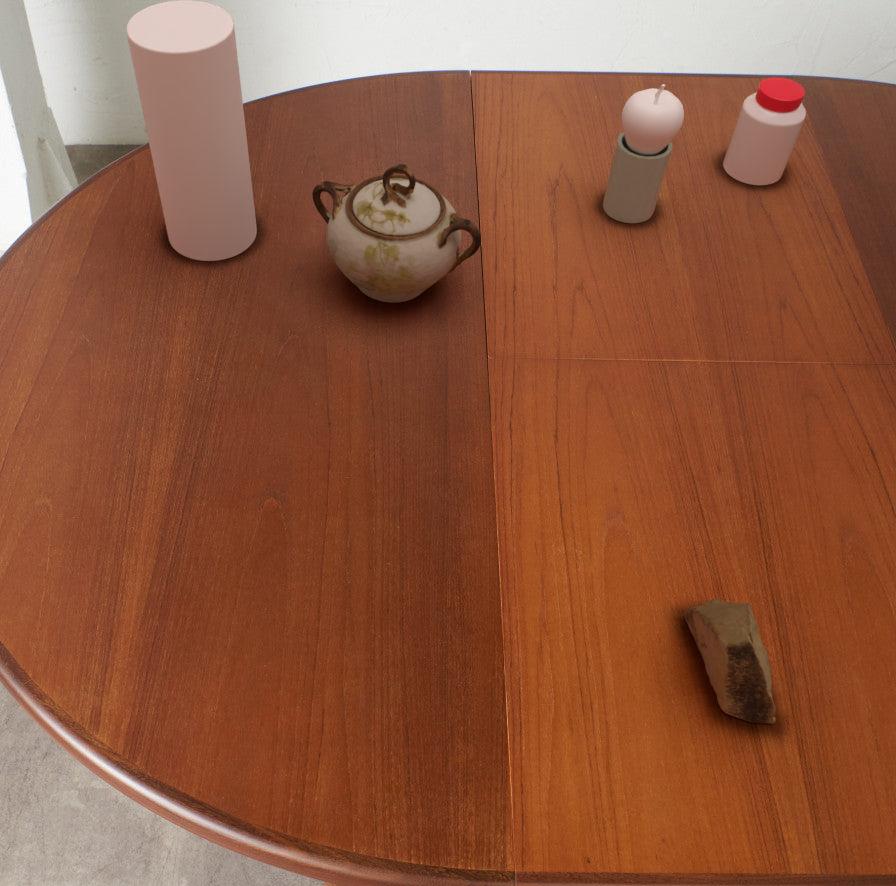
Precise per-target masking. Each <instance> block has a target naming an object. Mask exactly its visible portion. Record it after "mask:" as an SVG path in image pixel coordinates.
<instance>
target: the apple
mask: <svg viewBox="0 0 896 886" xmlns="http://www.w3.org/2000/svg"><path fill="white" fill-rule="evenodd" d="M665 87H666V84H665V83H662V84H661V85H660V87H659V88H653V87H651V88H646V89H643V90H639V91H637V92H635V93H632V95H631V96H629V98H628V99H627V100H626V102H625V104H624V106H623V108H622V111H621V120H620V121H621V127H622V131H623V132H624V135H625V139H626V142H627V145H628V146H629V148H630V149H631V150H633V151H634V152H636V153H638V154H641V155H654V154H657V153H658V152H660V151H661V150H662V149H664V148H665V147H666V146H667V145H668V143H669V142H670V141H671V142H672V140H673V139H674V138H675V137H676V136H677V134H678V133H679V132H680V130H681V128H682V126H683V124H684V119H685V111H684V105H683V103H682V102H681V100H680V99H679V98H678V97H677V96H676V95H675V94H674V93H672V92H671V91H669V90H667V89H665Z"/></svg>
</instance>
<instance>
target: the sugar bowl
mask: <svg viewBox="0 0 896 886" xmlns="http://www.w3.org/2000/svg"><path fill="white" fill-rule="evenodd" d="M323 192H326V193H328V194H329V195H330V196H331V199H332V201H333V202H332V203H333V206H332V212H331V213H330V211H328V209H327V208H326V206H325V204H324V202H323V200H322V199H321V195H322V193H323ZM338 192H341V193H343V194H344V195H343V196H342V197H340V195H339V193H338ZM311 195H312V200H313V204H314V207H315V208H316V210H317V213H319V215H320V216H321V218H322V219H323V220H324V221H325V223H326V224H327V229H326V232H327V233H326V238H327V239H326V240H327V244H328V248H329V249H328V250H329V253H330V255H331V257H332V260H333V261H334V263H335V264H336V266H337V268H338V269H339V270H340V272H341V273H342V274H343V275H344V276H345V278H347V279H348V280H349V281H350V282H351V283H352V284H354V285H355V286H356V287H357V288H358V289H359V291H361V292H362V294H364V295H366V296H367V297H369V298H371V299H373V300H376V301H379V302H382V303H392V304H393V303H395V304H396V303H404V302H407V301H411V300H413V299H416V298H417V297H419V296H420V295H421V294H422V293H423V292H425V291H426V290H427V289H429V288H431V287H432V286H433V285H435V284H436V283H437V282H438V281H440V280H441V279H442V278H443V277H444V276H445V275H448V274H450V273H452V272H454V270H455V269H456V268H457V267H458V266H460V265H461V264H462V263H463V262H464V261H466V260H467V259H469V258H472V256H474V255H475V254H476V253H477V252H478V251H479V249H480V247H481V244H482V236H481V232H480V231H479V228H478V227H477V225H476V224H475V223H474V221H472V219H468V218H465V217H464V218H463V217H460V216H459V214H458V213H457V211H456V209H455V208H454V207H453V205H452V204H451V203H450V201H449V200H448V199H447V198H446V196H444V195H443V194H442V193H440V192H439V190H437V189H436V188H435V187H434V186H432V185H431V184H429V183H428V182H426V181H423V180H421V179H419V178H416V177H415V174H414V173H413V171H412V170H411V169H410V168H409V166H408V165H407V164H405V163H398V164H396V165H393V166H391V167H389V168H387V169H386V170H385V171H384V173H383V174H382V175H375V176H373V177H370V178H367V179H365V180H363V181H361V182H359V184H354V183H353V184H342V183H338V182H333V181H329V180H323V181H321V182H319V183H318V184H316V185H315V187H313V190H312V194H311ZM462 231H465V232H467V233H469V234H470V236H471V238H472V242H471V244H470V246H468V248H466V249H465V250H464V251H462V252H460V249H461V245H462V244H461V243H462Z"/></svg>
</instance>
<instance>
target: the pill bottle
mask: <svg viewBox="0 0 896 886" xmlns="http://www.w3.org/2000/svg"><path fill="white" fill-rule="evenodd" d="M805 94H806V90H805V88H804V87H803V86H802V85H801V84H800V83H798V82H797V81H795V80H793V79H789V78H787V77H781V76H780V77H779V76H772V77H766V78H764V79H762V80H761V81H760V82H759V84H758V86H757V90H756V91H755V92H753V93H752V94H750V95H748V96H746V98H745V99H744V100H743V103H742V105H741V107H740V111H739V114H738V117H737V120H736V122H735V126H734V128H733V131H732V135H731V137H730V141H729V143H728V146H727V149H726V152H725V156H724V158H723V161H722V167H723V169H724V171H725V172H726V173H727V175H729V176H730V177H731V178H733V179H734V180H736V181H738V182H741V183H743V184H747V185H751V186H767V185H768V186H769V185H772V184H774V183H777V182H778V181H779V180H780V179H781V178H782V177H783V175H784V172H785V169H786V167H787V165H788V162H789V160H790V157H791V154H792V152H793V149H794V147H795V144H796V143H797V140H798V137H799V134H800V132H801V131H802V128H803V125H804V122H805V120H806V118H807V117H806V116H807V110H806V108H805V106H804V104H803V100H804V97H805Z"/></svg>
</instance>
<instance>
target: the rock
mask: <svg viewBox="0 0 896 886" xmlns="http://www.w3.org/2000/svg"><path fill="white" fill-rule="evenodd" d="M683 616H684V619H685V622H686V624H687V626H688V629H689V631H690V633H691V634H692V637H693V638H694V641H695V644H696V646H697V649H698V652H699V653H700V655H701V657H702V660H703V663H704V668H705V672H706V674H707V676H708V679H709V682H710V685H711V686H712V688H713V691H714V693H715V694H716V701H717V704H718V706H719V708H720V709H721V711H722V712H724V714H727V715H729V716H731V717H734V718H737V719H739V720H743V721H746V722H749V723H753V724H771V725H773V724H775V722H776V721H777V719H776V717H775V715H776V712H777V708H776V705H775V702H774V700H773V694H772V690H773V689H772V688H773V681H772V679H773V678H772V674H771V672H772V669H771V663H770V660H769V657H768V652H767V650H766V647H765V646H764V643H763V642H762V638H761V636H760V632H759V627H758V621H757V619H756V617H755V616H754V614H753V611H752V606H751V604H750V603H749V602H743V603H741V602H740V603H737V602H732V601H729V602H727V601H721V599H719V598H714V599H710V600H708V601H706V602H704V603H701V604H698V605H694V606H691V607H686V608H685V610H684V614H683Z"/></svg>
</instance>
